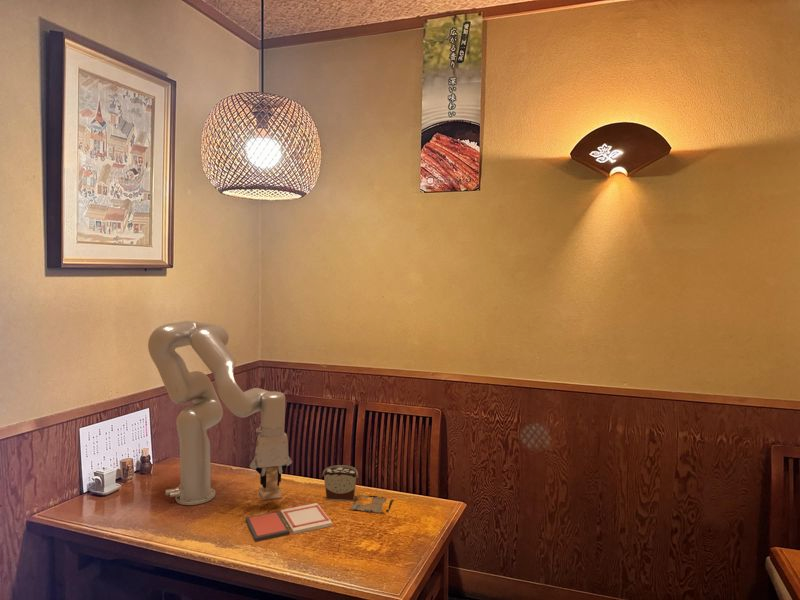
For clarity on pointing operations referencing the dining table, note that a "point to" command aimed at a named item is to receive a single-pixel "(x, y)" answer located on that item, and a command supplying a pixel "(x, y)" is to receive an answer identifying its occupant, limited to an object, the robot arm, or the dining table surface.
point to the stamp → (270, 485)
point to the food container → (340, 482)
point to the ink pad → (267, 526)
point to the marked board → (306, 518)
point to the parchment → (371, 504)
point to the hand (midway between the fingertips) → (270, 484)
